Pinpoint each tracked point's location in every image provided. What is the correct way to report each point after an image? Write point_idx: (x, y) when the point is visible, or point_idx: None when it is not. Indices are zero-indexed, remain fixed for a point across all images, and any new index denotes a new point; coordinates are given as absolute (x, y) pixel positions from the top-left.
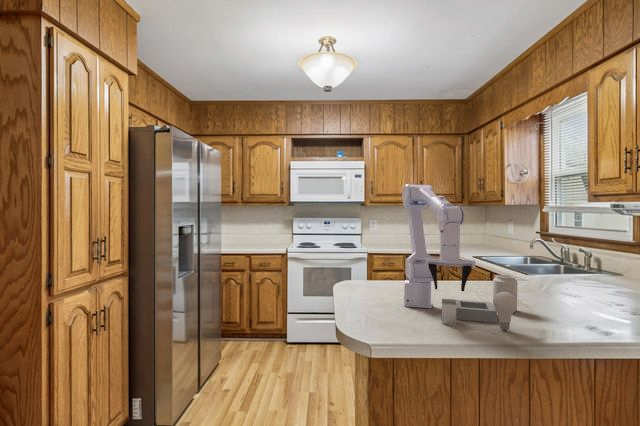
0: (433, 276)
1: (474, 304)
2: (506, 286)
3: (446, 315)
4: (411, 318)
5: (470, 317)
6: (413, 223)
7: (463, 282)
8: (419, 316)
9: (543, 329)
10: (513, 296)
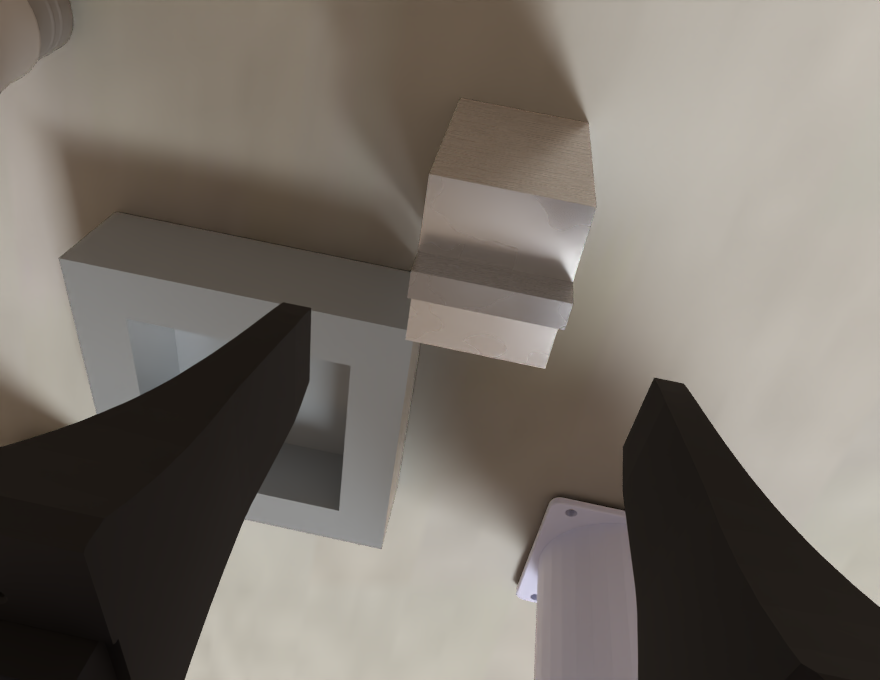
0: (783, 535)
1: None
2: None
3: (546, 144)
4: (840, 256)
5: (302, 263)
6: None
7: (236, 367)
8: (730, 319)
9: None
10: None
